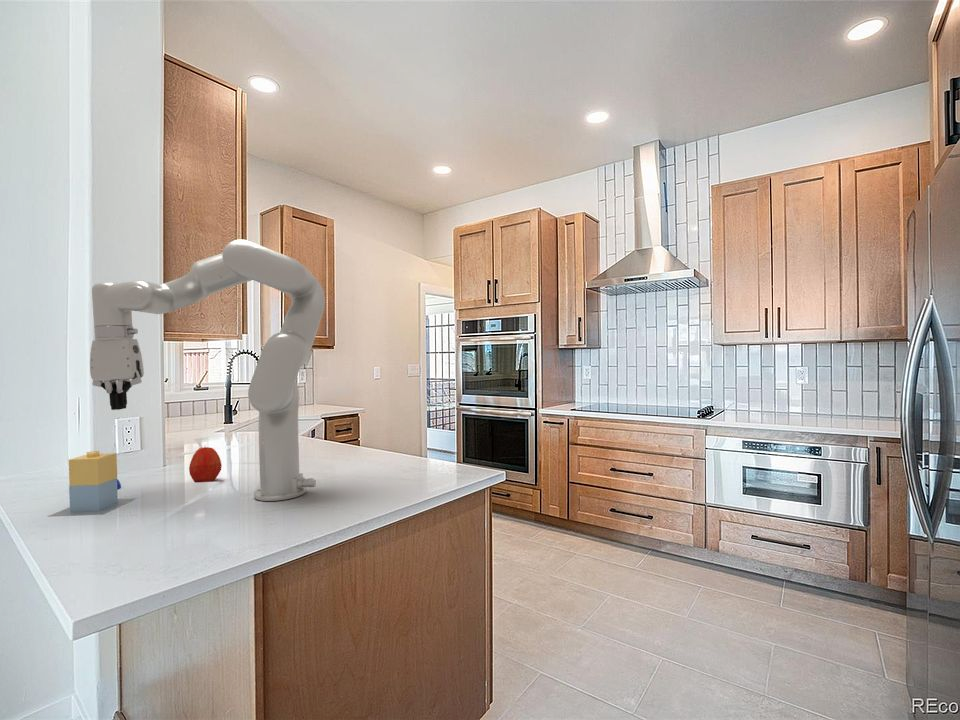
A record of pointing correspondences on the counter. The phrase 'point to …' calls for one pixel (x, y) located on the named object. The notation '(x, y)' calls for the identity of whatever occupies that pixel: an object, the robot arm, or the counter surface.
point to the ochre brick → (92, 468)
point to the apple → (205, 465)
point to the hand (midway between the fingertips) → (118, 408)
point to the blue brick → (93, 496)
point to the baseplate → (67, 511)
